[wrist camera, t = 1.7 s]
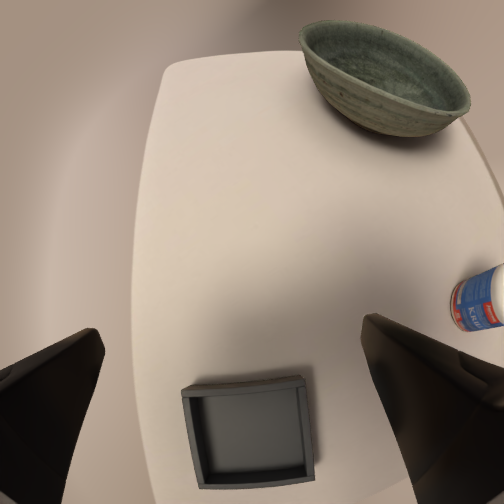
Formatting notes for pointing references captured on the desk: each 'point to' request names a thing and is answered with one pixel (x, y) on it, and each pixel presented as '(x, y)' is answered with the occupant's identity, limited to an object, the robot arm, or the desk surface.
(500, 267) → the pill bottle
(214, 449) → the tray
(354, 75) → the bowl
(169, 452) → the desk surface
